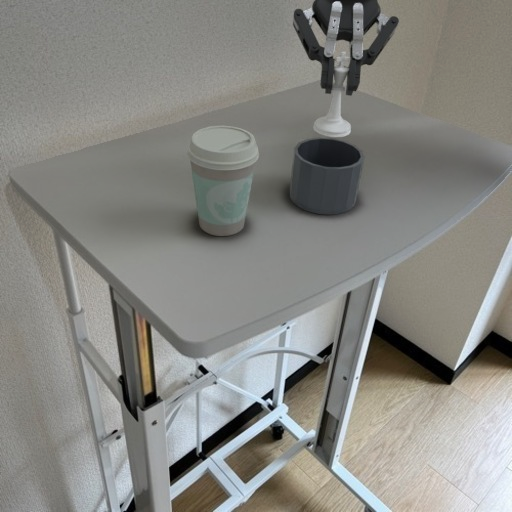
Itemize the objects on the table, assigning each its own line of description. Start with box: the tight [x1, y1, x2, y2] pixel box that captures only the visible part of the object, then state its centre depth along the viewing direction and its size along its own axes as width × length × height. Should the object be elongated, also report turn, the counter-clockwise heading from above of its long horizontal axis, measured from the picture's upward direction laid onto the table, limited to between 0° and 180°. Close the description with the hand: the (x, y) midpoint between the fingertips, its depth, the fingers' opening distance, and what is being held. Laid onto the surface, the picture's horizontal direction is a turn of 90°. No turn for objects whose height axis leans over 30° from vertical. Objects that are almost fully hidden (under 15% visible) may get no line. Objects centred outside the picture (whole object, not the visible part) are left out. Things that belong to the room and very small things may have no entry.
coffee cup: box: [186, 125, 260, 237], centre depth 68 cm, size 8×8×12 cm
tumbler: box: [289, 136, 365, 216], centre depth 76 cm, size 9×9×7 cm
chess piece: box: [313, 51, 352, 138], centre depth 70 cm, size 5×5×10 cm
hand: (339, 91), depth 67 cm, fingers closed on chess piece
